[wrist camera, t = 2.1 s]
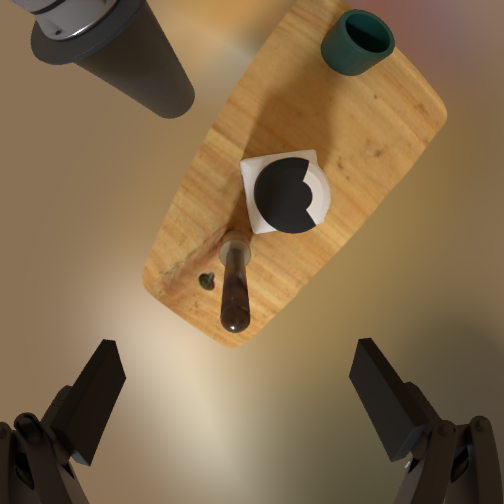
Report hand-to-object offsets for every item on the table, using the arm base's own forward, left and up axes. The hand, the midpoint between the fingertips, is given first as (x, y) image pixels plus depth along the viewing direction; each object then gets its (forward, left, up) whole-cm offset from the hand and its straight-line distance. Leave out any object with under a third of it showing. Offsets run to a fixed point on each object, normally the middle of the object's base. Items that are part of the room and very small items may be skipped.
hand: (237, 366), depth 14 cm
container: (-4, +8, -24) cm, 26 cm away
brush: (0, 0, -24) cm, 24 cm away
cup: (-17, +27, -24) cm, 39 cm away
